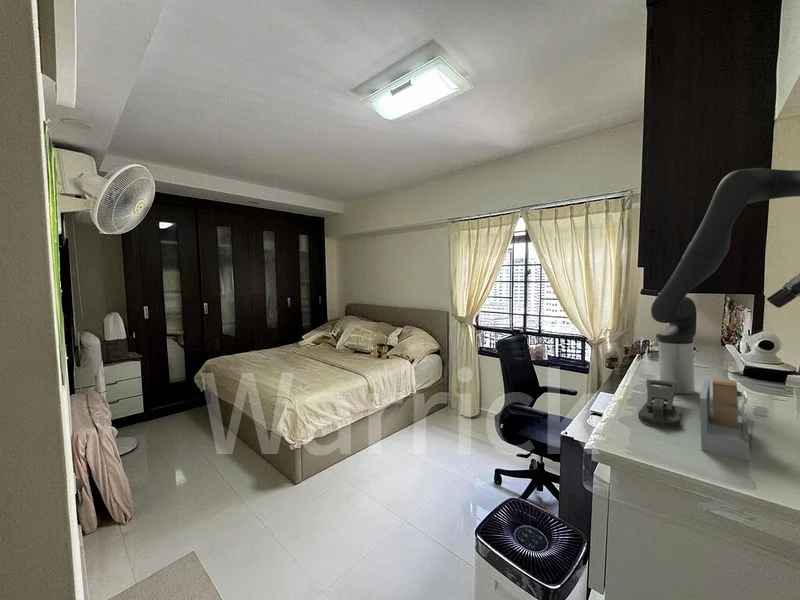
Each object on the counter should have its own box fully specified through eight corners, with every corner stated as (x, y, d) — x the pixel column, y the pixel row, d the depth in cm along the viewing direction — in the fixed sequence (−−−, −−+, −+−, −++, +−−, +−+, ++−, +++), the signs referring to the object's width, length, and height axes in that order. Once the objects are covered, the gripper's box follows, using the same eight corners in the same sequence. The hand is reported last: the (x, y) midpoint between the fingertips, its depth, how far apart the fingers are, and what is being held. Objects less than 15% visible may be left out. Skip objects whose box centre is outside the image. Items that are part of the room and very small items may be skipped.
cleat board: (705, 424, 85) (704, 380, 84) (746, 432, 79) (745, 384, 79) (701, 450, 72) (699, 398, 72) (749, 461, 67) (748, 405, 67)
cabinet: (714, 417, 80) (713, 377, 80) (742, 422, 76) (741, 381, 76) (713, 424, 76) (712, 383, 76) (743, 429, 73) (741, 386, 72)
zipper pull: (679, 382, 100) (679, 406, 82) (680, 403, 101) (680, 431, 82) (644, 378, 106) (636, 399, 88) (644, 398, 106) (637, 423, 88)
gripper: (827, 240, 73) (753, 291, 82) (841, 235, 63) (756, 294, 72) (867, 261, 70) (786, 312, 78) (889, 259, 60) (793, 318, 68)
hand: (772, 303), depth 75 cm, fingers open, 8 cm apart
